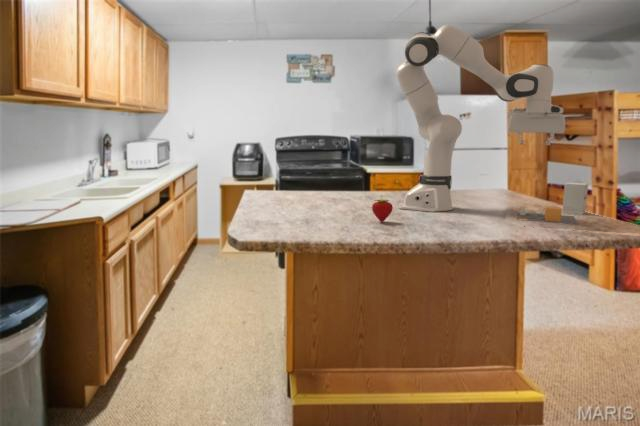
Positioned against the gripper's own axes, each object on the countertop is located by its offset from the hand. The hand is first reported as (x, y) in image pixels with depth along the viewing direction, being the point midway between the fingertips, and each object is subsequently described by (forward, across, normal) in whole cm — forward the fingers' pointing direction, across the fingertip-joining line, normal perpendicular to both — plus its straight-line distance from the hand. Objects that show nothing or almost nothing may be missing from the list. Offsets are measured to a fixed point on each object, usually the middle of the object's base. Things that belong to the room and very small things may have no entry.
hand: (534, 144), depth 190 cm
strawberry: (+29, -50, -38) cm, 69 cm away
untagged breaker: (+26, -2, -9) cm, 28 cm away
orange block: (+26, +8, -15) cm, 31 cm away
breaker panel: (+27, +6, -12) cm, 31 cm away
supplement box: (+27, +17, +5) cm, 33 cm away
